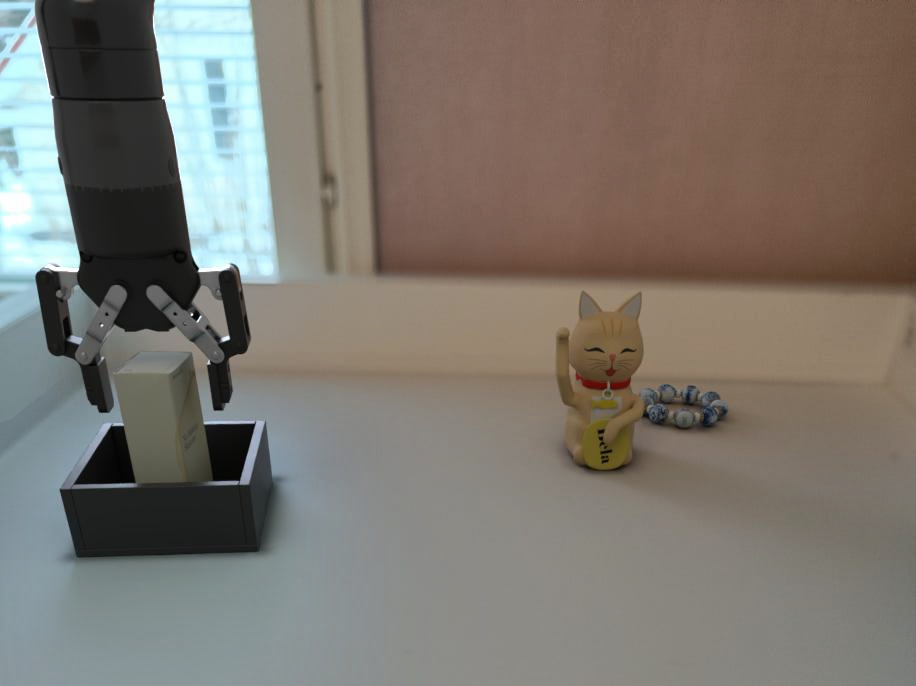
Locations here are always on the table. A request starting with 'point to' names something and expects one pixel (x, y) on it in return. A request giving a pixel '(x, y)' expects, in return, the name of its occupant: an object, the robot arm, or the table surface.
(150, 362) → the cosmetic box
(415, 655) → the table surface
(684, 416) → the bracelet
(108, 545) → the dark grey open box
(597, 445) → the figurine
